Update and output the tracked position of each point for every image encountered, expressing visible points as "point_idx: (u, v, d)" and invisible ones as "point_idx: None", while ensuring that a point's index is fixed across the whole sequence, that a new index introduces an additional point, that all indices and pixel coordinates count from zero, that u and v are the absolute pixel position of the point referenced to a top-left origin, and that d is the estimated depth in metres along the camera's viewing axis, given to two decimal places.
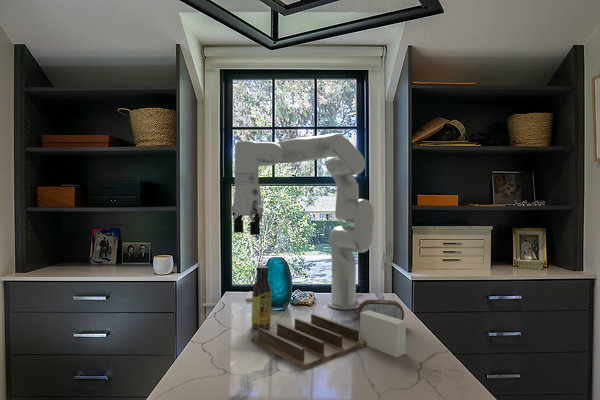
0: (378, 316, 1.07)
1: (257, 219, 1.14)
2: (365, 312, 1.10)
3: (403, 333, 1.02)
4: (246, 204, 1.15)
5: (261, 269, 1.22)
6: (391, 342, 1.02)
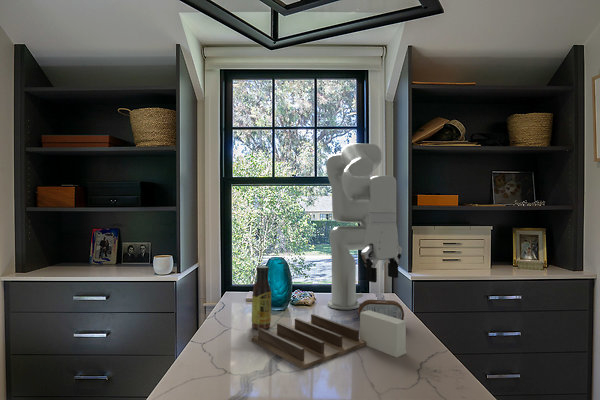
0: (378, 316, 1.07)
1: None
2: (365, 312, 1.10)
3: (403, 333, 1.02)
4: (396, 246, 1.07)
5: (261, 269, 1.22)
6: (391, 342, 1.02)
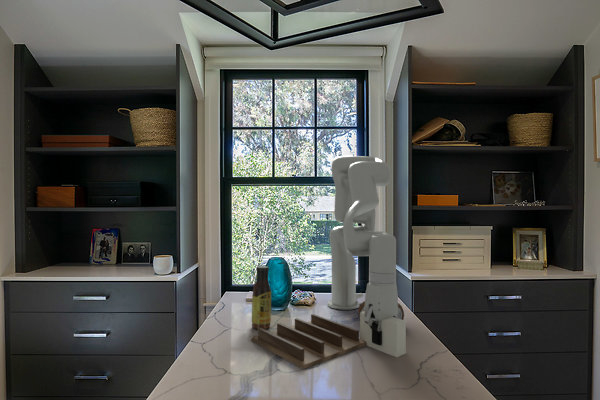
0: None
1: None
2: None
3: (403, 333, 1.02)
4: (396, 304, 1.07)
5: (261, 269, 1.22)
6: (391, 342, 1.02)
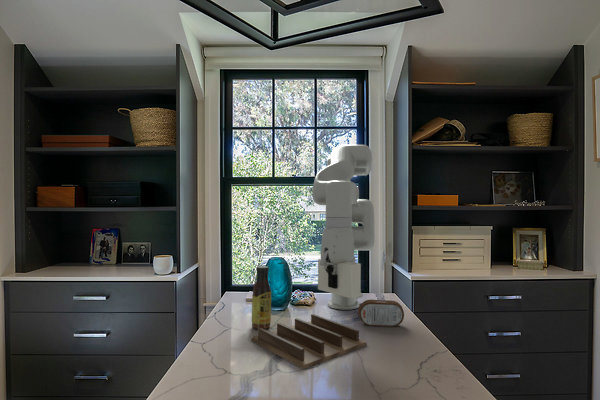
0: None
1: None
2: None
3: (358, 275, 1.04)
4: (352, 249, 1.09)
5: (261, 269, 1.22)
6: (345, 284, 1.04)
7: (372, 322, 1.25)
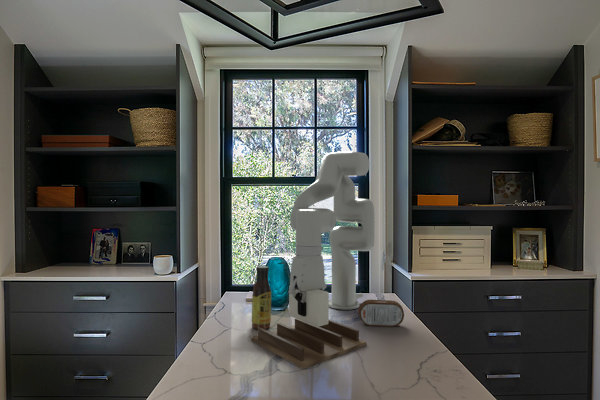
0: None
1: None
2: None
3: (325, 303, 1.05)
4: (322, 277, 1.10)
5: (261, 269, 1.22)
6: (313, 312, 1.05)
7: (372, 322, 1.25)
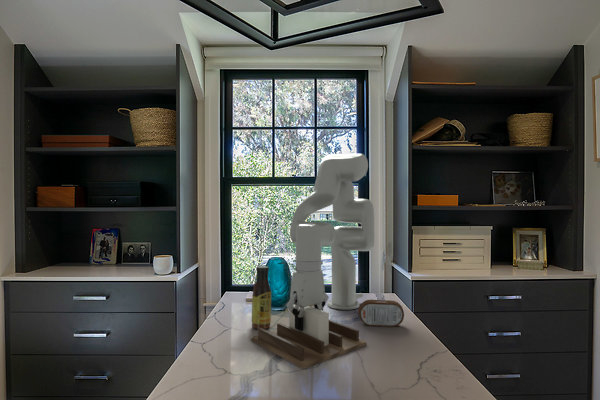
0: (305, 308, 1.10)
1: None
2: (294, 305, 1.14)
3: (325, 324, 1.05)
4: (322, 292, 1.10)
5: (261, 269, 1.22)
6: (313, 333, 1.05)
7: (372, 322, 1.25)
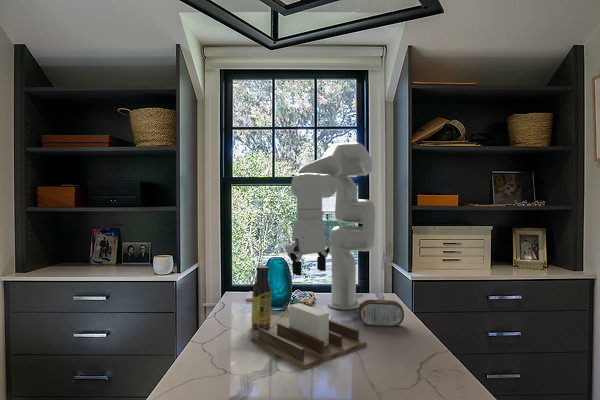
0: (305, 308, 1.10)
1: None
2: (294, 305, 1.14)
3: (326, 324, 1.05)
4: (323, 240, 1.11)
5: (261, 269, 1.22)
6: (313, 333, 1.05)
7: (372, 322, 1.25)
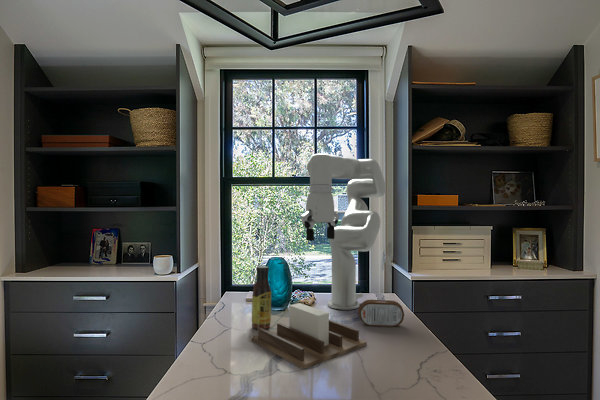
0: (305, 308, 1.10)
1: None
2: (294, 305, 1.14)
3: (326, 324, 1.05)
4: (332, 212, 1.30)
5: (261, 269, 1.22)
6: (313, 333, 1.05)
7: (372, 322, 1.25)
